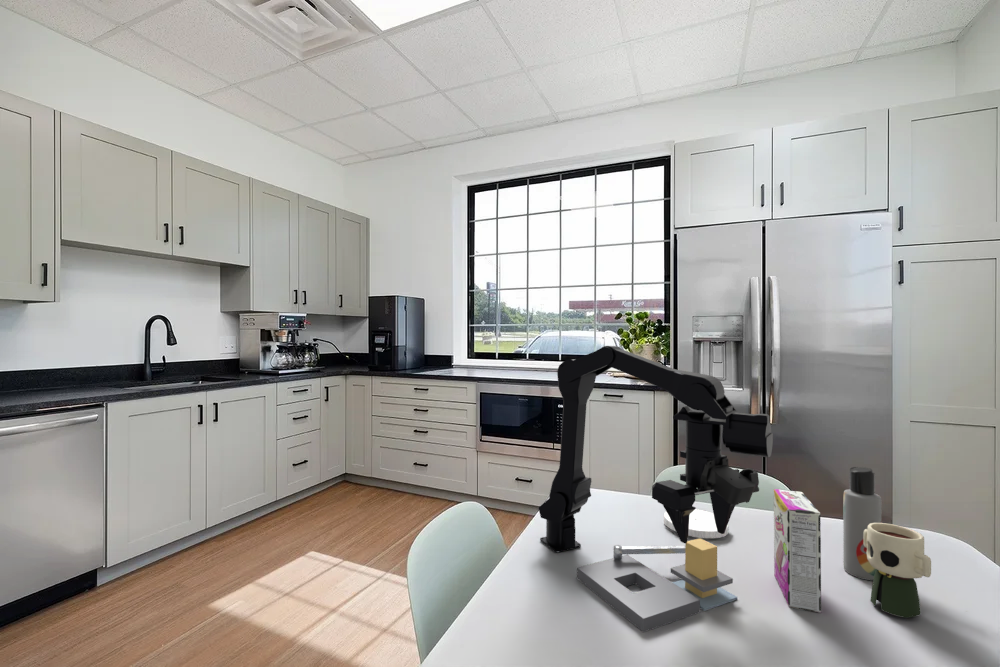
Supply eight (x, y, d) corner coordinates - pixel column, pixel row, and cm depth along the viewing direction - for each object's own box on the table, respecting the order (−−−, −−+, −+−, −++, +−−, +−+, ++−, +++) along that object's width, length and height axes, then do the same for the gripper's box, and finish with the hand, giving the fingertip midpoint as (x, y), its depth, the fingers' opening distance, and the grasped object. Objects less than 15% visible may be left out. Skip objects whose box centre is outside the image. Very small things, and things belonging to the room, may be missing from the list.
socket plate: (576, 578, 83) (576, 567, 83) (627, 564, 88) (627, 554, 88) (643, 632, 68) (643, 618, 68) (699, 612, 73) (700, 599, 73)
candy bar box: (771, 575, 85) (772, 487, 86) (803, 580, 84) (803, 491, 84) (786, 608, 75) (787, 507, 75) (822, 614, 73) (822, 512, 73)
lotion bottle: (888, 582, 83) (888, 473, 84) (853, 579, 84) (853, 471, 85) (870, 567, 89) (870, 465, 89) (837, 564, 90) (837, 463, 90)
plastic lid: (656, 532, 105) (656, 521, 105) (672, 514, 116) (672, 504, 116) (723, 548, 97) (723, 537, 97) (732, 527, 108) (733, 516, 108)
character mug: (846, 593, 79) (846, 518, 80) (882, 591, 80) (882, 517, 81) (909, 633, 69) (909, 546, 69) (950, 630, 70) (950, 544, 70)
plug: (670, 584, 81) (670, 539, 81) (698, 576, 84) (698, 533, 84) (703, 605, 74) (703, 556, 74) (732, 596, 77) (732, 548, 77)
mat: (666, 586, 81) (666, 584, 81) (698, 576, 84) (698, 574, 84) (704, 610, 74) (704, 608, 74) (737, 599, 77) (737, 596, 77)
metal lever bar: (615, 560, 85) (615, 548, 85) (612, 556, 87) (612, 544, 87) (707, 559, 86) (707, 547, 87) (703, 555, 88) (703, 543, 88)
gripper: (704, 464, 68) (704, 570, 68) (782, 453, 76) (782, 546, 76) (649, 448, 78) (649, 540, 78) (724, 439, 86) (723, 522, 86)
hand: (702, 537), depth 79 cm, fingers open, 9 cm apart
